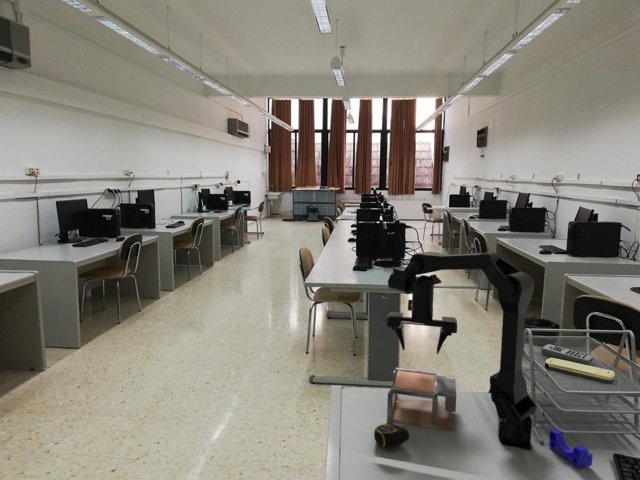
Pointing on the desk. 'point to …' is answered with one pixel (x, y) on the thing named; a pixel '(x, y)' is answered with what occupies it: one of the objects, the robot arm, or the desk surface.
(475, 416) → the desk surface
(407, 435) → the tape measure
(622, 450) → the desk surface
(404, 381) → the trapdoor
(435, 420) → the framed copper bin
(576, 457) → the cable holder
